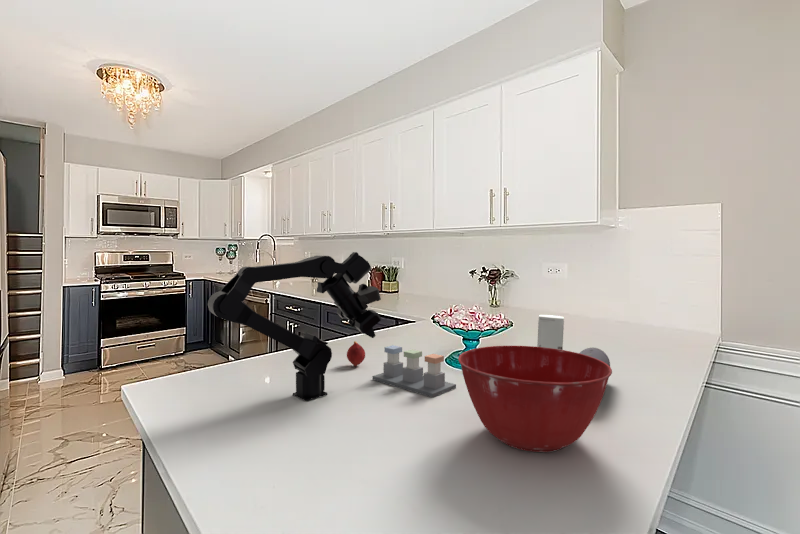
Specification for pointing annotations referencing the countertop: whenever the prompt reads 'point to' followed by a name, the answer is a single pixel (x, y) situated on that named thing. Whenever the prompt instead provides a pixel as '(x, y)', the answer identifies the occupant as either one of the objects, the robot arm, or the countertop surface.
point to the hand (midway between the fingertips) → (373, 336)
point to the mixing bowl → (534, 393)
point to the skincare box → (550, 331)
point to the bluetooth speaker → (596, 354)
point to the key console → (414, 380)
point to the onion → (356, 354)
